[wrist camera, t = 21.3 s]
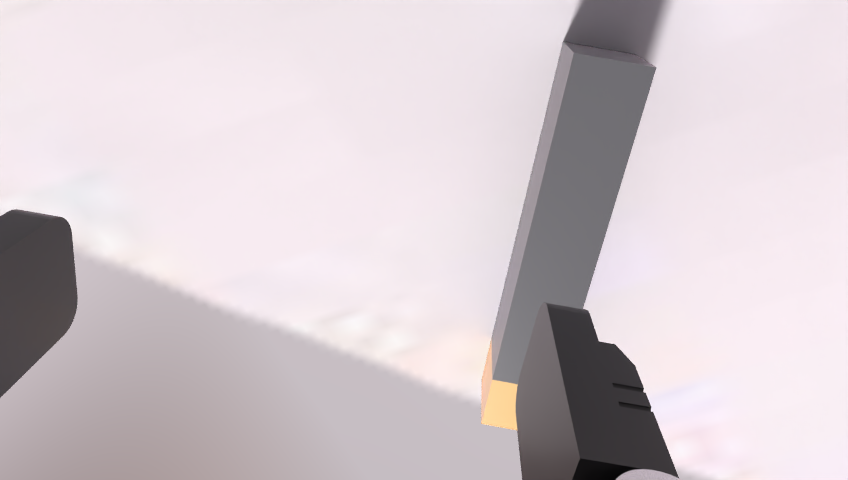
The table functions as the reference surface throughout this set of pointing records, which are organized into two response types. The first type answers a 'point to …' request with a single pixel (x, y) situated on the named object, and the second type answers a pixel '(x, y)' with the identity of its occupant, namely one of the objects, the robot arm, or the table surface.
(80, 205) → the table surface
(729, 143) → the table surface
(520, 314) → the plug rod
